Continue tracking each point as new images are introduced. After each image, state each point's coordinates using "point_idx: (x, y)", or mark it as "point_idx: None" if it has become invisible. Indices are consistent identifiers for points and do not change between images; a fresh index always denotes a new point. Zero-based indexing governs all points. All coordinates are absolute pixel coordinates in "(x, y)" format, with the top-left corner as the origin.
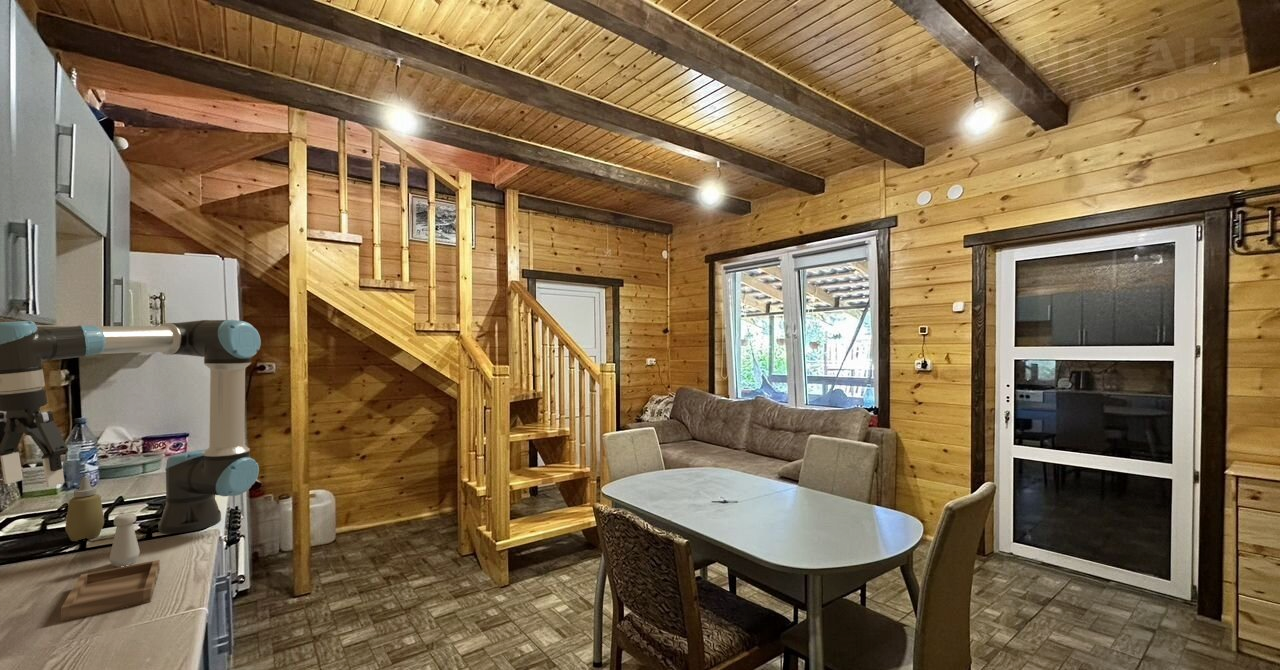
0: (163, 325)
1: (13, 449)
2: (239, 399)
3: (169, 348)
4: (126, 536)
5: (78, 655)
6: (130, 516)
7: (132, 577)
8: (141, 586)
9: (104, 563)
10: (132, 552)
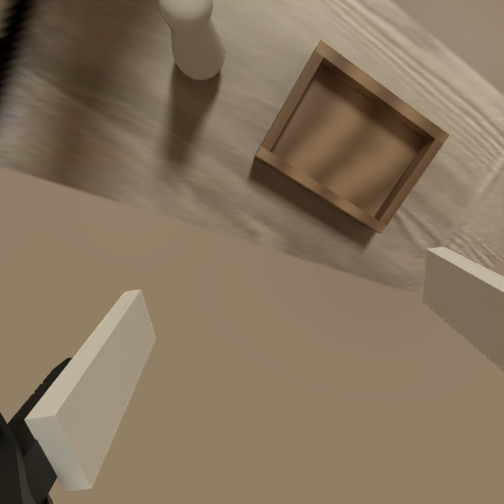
0: None
1: (25, 473)
2: None
3: None
4: (212, 33)
5: (491, 259)
6: None
7: (318, 102)
8: (376, 118)
9: (156, 75)
10: (222, 42)
